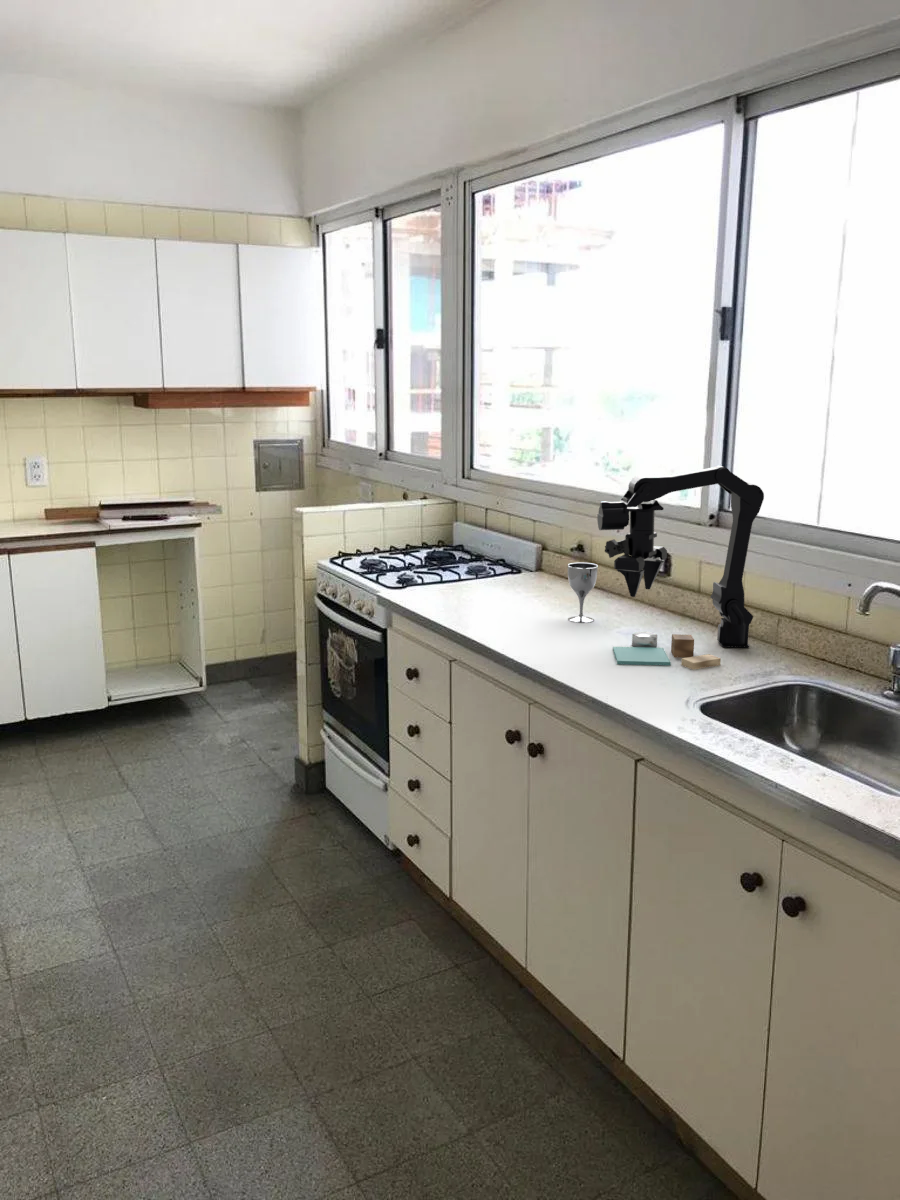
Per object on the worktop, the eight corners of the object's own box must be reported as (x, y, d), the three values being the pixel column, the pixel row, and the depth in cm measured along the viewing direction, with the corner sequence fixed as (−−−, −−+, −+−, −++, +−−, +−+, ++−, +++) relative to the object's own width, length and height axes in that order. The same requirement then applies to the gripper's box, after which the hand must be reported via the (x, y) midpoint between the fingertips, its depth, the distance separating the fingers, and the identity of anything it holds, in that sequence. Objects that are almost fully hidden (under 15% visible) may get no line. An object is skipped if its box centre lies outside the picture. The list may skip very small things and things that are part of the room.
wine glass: (572, 624, 259) (574, 568, 256) (561, 617, 267) (563, 563, 263) (600, 622, 261) (602, 567, 258) (588, 615, 269) (590, 561, 265)
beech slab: (708, 662, 227) (708, 654, 227) (720, 666, 223) (720, 658, 223) (681, 666, 223) (681, 658, 223) (692, 671, 220) (693, 662, 220)
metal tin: (655, 643, 241) (655, 631, 241) (658, 650, 236) (658, 638, 235) (630, 643, 242) (631, 631, 241) (633, 649, 236) (633, 637, 235)
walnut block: (690, 652, 233) (691, 634, 232) (693, 658, 229) (694, 639, 228) (670, 652, 234) (671, 634, 233) (673, 657, 229) (674, 639, 228)
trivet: (663, 650, 235) (663, 647, 234) (670, 665, 223) (670, 662, 223) (612, 649, 235) (612, 646, 235) (617, 664, 224) (617, 660, 224)
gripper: (626, 521, 244) (624, 582, 248) (594, 532, 229) (593, 597, 233) (668, 524, 238) (666, 586, 242) (638, 535, 223) (637, 602, 227)
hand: (640, 592), depth 236 cm, fingers open, 9 cm apart
